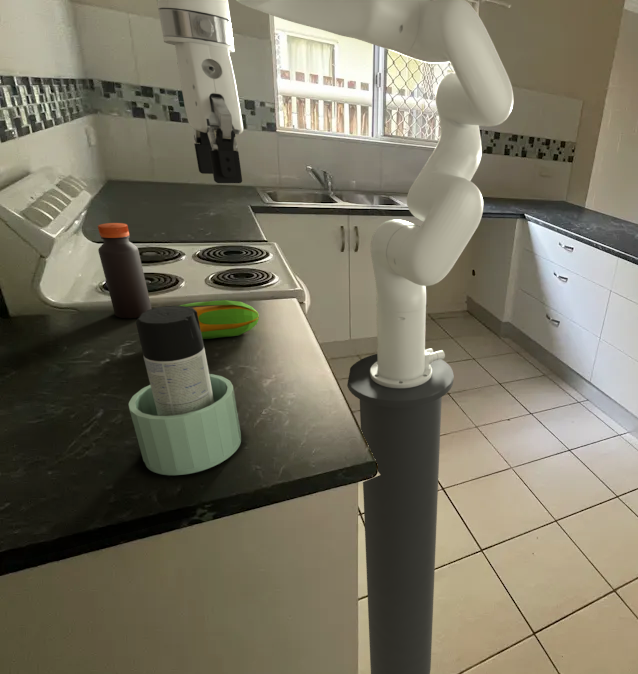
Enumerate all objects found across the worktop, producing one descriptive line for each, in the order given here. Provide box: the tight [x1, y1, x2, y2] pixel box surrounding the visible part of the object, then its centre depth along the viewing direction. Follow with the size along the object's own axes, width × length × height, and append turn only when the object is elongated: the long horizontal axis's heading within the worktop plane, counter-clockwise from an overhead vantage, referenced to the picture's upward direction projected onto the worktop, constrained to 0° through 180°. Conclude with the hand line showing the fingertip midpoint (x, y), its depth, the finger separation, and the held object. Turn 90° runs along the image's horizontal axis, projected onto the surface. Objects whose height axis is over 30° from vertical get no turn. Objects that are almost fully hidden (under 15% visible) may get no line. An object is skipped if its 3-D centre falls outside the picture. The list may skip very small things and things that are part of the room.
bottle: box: [97, 222, 153, 319], centre depth 104 cm, size 7×7×20 cm
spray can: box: [135, 305, 214, 416], centre depth 64 cm, size 7×7×20 cm
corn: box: [178, 299, 260, 340], centre depth 99 cm, size 7×8×20 cm
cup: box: [127, 373, 242, 476], centre depth 66 cm, size 12×12×9 cm
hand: (220, 177), depth 66 cm, fingers open, 9 cm apart
